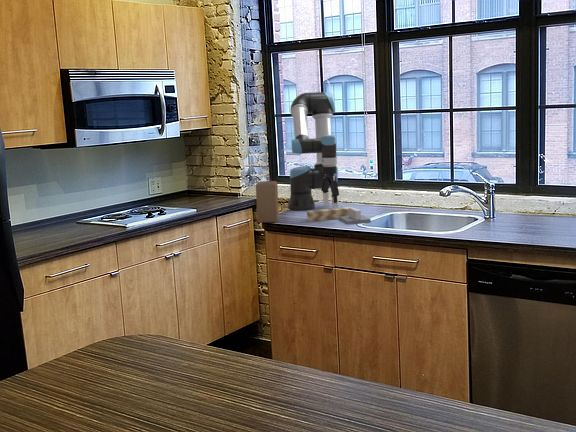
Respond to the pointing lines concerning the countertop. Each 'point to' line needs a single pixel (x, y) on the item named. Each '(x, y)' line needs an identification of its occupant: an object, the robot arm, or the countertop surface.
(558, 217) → the countertop surface
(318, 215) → the beech bar
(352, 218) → the fulcrum
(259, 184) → the wooden block
